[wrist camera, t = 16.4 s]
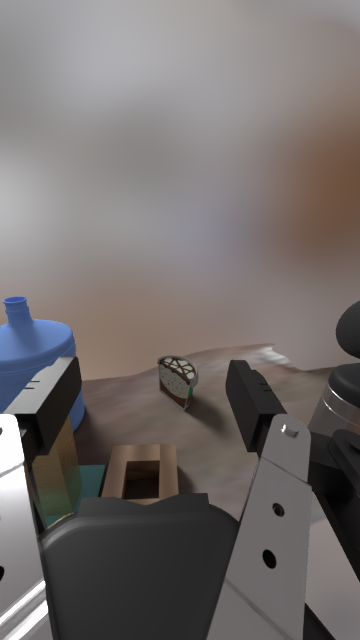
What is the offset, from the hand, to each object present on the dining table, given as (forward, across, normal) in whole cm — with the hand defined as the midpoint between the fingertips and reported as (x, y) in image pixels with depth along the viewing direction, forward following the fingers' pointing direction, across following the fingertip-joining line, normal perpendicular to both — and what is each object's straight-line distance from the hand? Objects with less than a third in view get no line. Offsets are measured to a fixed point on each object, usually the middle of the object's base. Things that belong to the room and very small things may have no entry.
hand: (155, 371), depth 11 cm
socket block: (+10, +2, +34) cm, 35 cm away
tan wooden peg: (+10, +14, +33) cm, 37 cm away
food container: (+33, -6, +34) cm, 48 cm away
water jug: (+25, +24, +34) cm, 49 cm away
